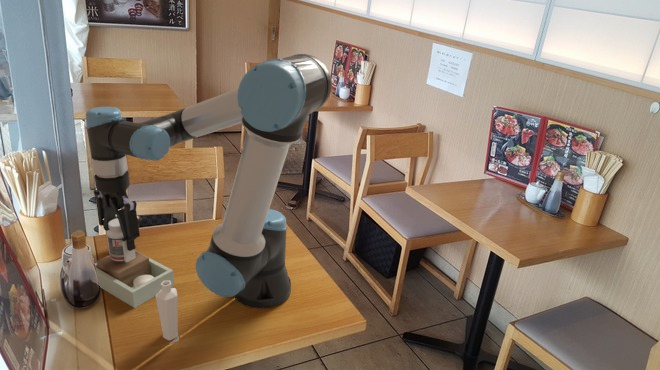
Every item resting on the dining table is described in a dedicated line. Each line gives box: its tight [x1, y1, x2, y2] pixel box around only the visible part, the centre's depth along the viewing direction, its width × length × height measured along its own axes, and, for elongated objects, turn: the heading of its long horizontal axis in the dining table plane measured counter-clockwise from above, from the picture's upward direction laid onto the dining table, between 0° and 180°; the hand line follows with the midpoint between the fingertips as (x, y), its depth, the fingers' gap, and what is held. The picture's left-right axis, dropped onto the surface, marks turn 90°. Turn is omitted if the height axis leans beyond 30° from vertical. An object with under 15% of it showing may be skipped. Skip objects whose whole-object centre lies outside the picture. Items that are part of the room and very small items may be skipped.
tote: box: [94, 250, 175, 309], centre depth 121 cm, size 18×12×6 cm, turn 58°
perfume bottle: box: [155, 281, 180, 345], centre depth 102 cm, size 5×4×15 cm
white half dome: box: [133, 275, 154, 289], centre depth 118 cm, size 5×5×3 cm
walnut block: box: [95, 250, 151, 288], centre depth 122 cm, size 9×9×6 cm
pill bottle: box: [107, 217, 125, 261], centre depth 118 cm, size 6×6×10 cm
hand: (122, 255), depth 120 cm, fingers closed on pill bottle, 6 cm apart
